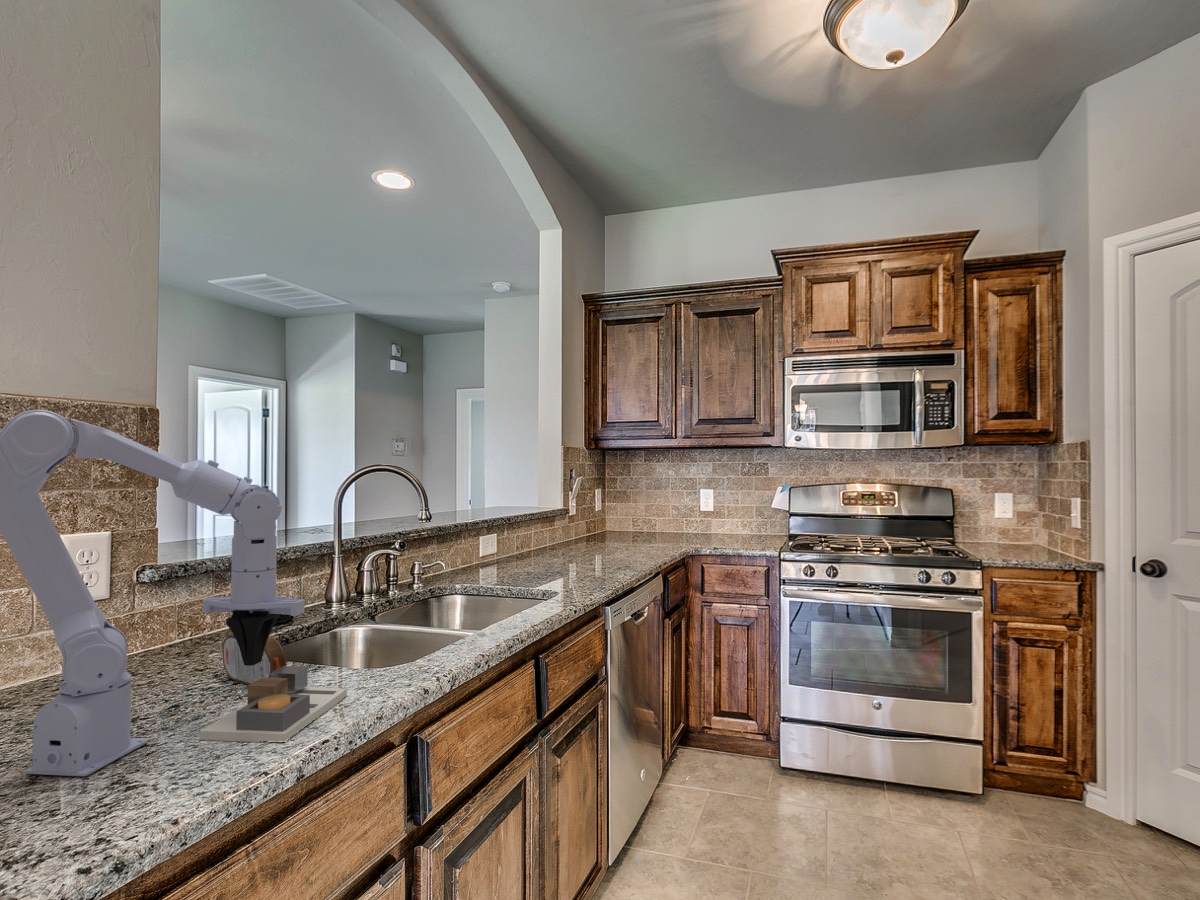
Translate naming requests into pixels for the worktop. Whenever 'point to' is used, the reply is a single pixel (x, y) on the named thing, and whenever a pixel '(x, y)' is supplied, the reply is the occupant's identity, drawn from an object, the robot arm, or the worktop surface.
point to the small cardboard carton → (267, 687)
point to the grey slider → (292, 677)
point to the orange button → (274, 702)
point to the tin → (249, 674)
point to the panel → (274, 717)
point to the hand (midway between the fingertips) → (252, 663)
